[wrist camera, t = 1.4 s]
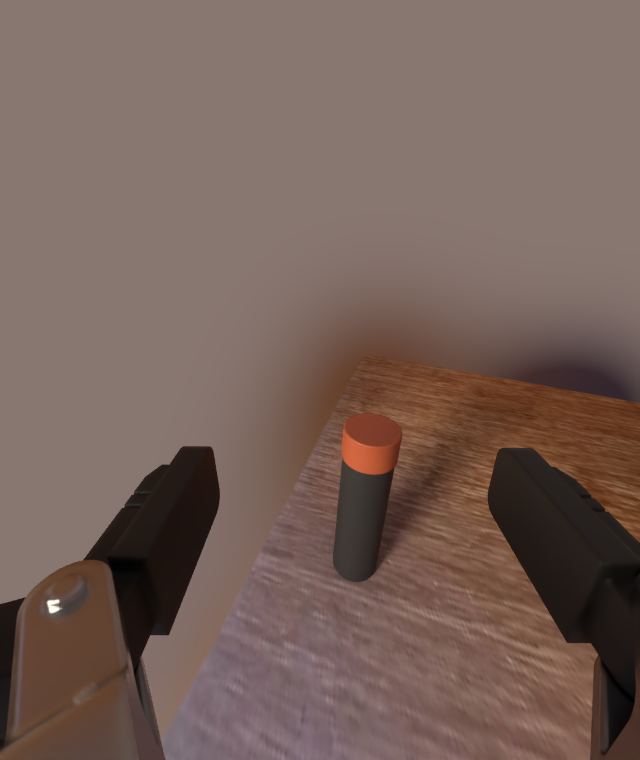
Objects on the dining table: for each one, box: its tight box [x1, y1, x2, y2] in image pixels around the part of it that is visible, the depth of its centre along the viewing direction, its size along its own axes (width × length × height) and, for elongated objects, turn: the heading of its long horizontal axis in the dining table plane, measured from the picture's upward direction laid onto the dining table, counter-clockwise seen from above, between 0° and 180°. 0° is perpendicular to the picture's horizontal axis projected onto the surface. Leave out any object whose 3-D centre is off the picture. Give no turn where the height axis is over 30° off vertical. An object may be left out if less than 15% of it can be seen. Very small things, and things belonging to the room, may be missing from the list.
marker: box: [333, 413, 402, 582], centre depth 22 cm, size 3×3×12 cm
